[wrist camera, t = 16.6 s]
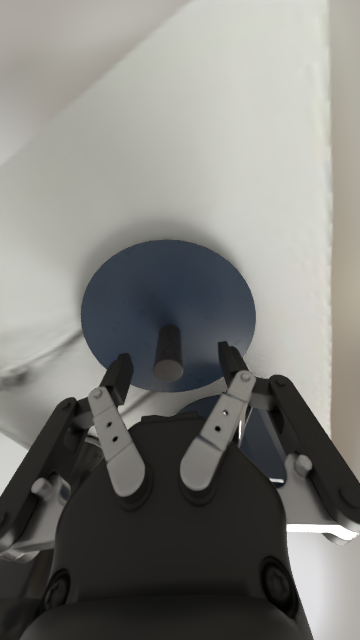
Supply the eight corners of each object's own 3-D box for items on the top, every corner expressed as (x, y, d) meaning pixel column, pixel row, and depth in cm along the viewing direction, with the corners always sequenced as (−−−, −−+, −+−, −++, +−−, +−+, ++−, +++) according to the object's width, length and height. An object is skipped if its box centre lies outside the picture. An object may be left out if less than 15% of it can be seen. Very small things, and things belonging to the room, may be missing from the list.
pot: (178, 459, 33) (179, 537, 25) (160, 402, 25) (152, 488, 17) (267, 450, 32) (300, 526, 24) (278, 387, 24) (333, 470, 16)
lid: (117, 392, 24) (98, 445, 18) (53, 257, 15) (-23, 273, 10) (248, 376, 23) (273, 426, 17) (256, 222, 15) (311, 216, 9)
